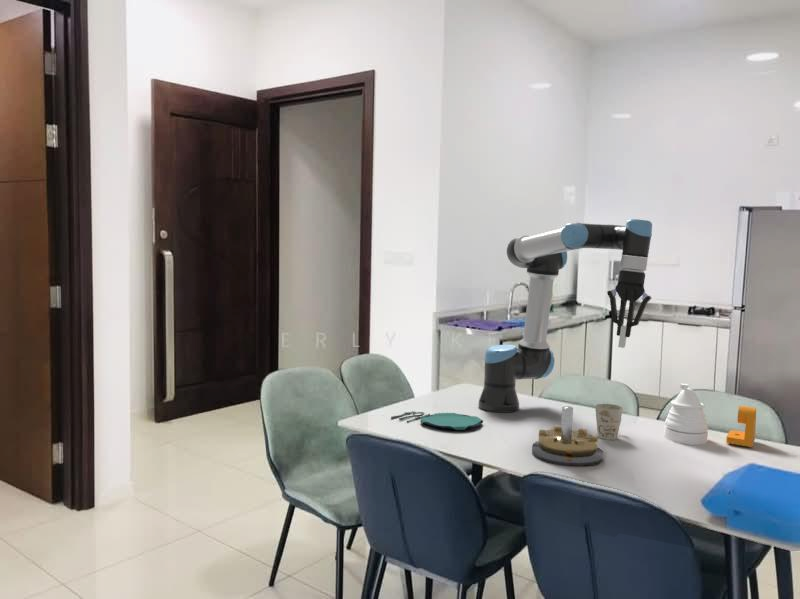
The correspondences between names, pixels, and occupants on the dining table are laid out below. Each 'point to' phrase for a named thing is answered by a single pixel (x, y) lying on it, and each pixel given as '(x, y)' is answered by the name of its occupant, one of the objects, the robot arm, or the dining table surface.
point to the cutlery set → (445, 420)
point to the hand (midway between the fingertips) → (621, 346)
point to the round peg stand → (567, 438)
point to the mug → (608, 420)
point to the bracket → (745, 438)
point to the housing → (567, 457)
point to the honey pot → (686, 419)
